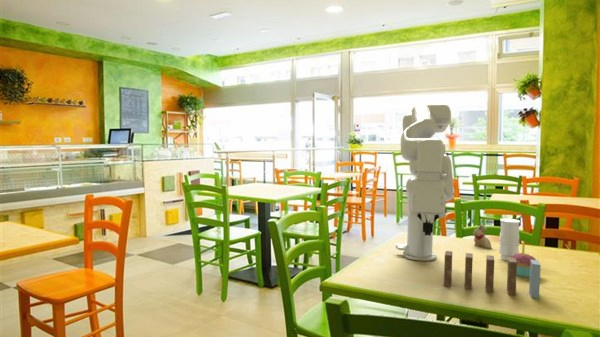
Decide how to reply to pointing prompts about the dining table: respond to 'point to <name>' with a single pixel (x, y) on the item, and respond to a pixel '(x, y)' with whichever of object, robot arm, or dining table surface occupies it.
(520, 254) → the cupcake
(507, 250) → the candle
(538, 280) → the domino
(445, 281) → the domino
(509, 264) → the domino
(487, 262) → the domino
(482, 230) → the chocolate bunny
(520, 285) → the dining table surface
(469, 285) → the domino
